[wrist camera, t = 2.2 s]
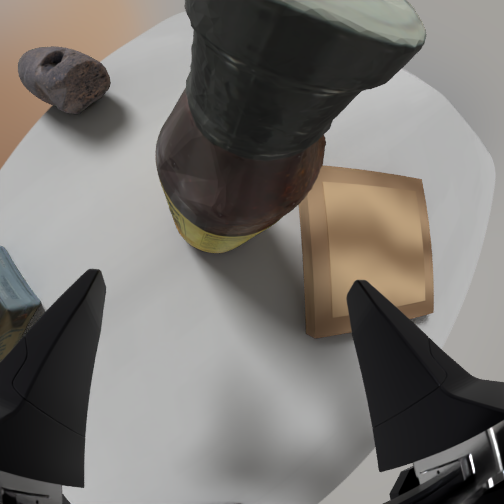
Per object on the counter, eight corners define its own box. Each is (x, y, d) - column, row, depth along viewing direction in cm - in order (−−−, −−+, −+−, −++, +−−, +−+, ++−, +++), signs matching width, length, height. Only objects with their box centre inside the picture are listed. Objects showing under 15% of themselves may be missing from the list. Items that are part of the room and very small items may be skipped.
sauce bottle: (187, 172, 21) (210, -87, 2) (259, 191, 23) (425, -10, 3) (164, 248, 20) (21, 17, 1) (242, 268, 21) (510, 175, 2)
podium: (420, 311, 25) (434, 312, 23) (305, 333, 22) (315, 338, 20) (409, 184, 26) (422, 179, 24) (295, 172, 23) (304, 163, 21)
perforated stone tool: (19, 93, 18) (-5, 63, 12) (48, 62, 19) (30, 28, 12) (86, 135, 20) (58, 94, 13) (121, 95, 21) (106, 48, 14)
